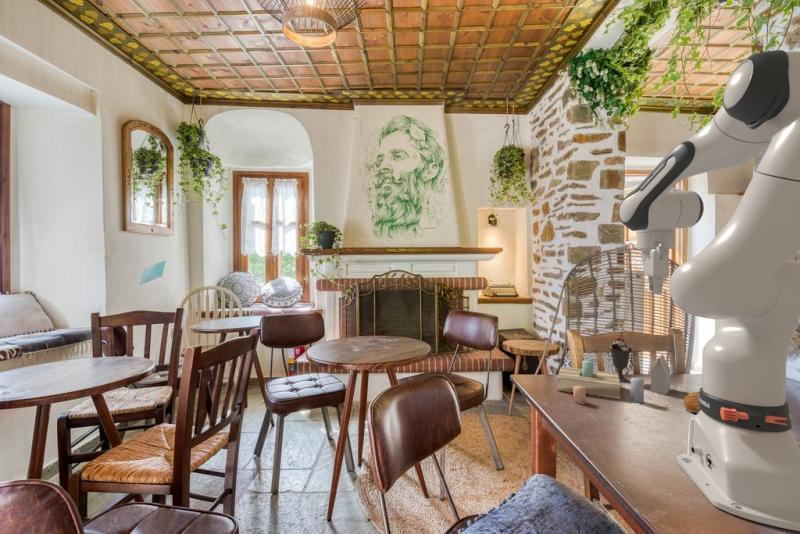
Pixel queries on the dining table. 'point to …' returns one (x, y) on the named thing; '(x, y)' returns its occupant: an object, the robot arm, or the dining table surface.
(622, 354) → the sundae
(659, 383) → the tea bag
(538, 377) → the dining table surface
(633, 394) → the medium dowel
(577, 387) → the short dowel
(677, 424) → the dining table surface
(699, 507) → the dining table surface
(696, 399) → the pastry
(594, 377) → the hole block
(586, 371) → the long dowel
